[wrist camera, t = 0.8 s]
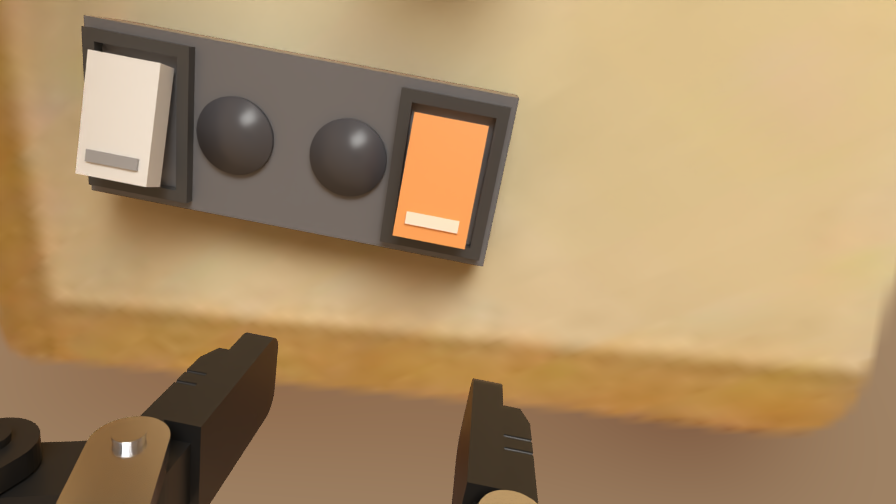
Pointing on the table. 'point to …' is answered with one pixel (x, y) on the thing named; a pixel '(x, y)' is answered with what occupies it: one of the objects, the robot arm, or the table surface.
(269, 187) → the rocker switch panel
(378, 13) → the table surface
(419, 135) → the rocker orange
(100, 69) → the rocker white
